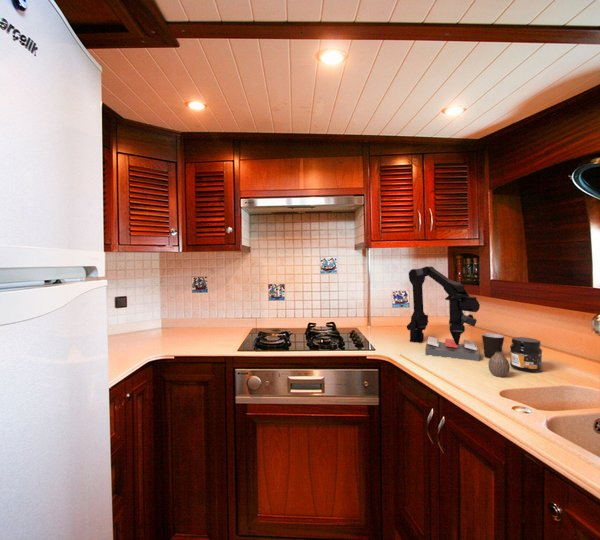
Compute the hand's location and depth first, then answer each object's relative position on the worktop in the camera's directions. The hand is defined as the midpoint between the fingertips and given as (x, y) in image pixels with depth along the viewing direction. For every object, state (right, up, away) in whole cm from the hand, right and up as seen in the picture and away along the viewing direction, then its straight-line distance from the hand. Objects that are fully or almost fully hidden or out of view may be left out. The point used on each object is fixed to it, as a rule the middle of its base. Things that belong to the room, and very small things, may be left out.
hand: (456, 342), depth 150 cm
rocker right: (+5, -1, -2) cm, 6 cm away
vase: (+1, -6, -30) cm, 31 cm away
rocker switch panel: (-3, -5, -1) cm, 6 cm away
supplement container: (+16, -6, -23) cm, 29 cm away
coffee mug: (+14, -5, -6) cm, 16 cm away
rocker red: (-2, -1, +1) cm, 3 cm away
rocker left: (-10, -1, +4) cm, 11 cm away
